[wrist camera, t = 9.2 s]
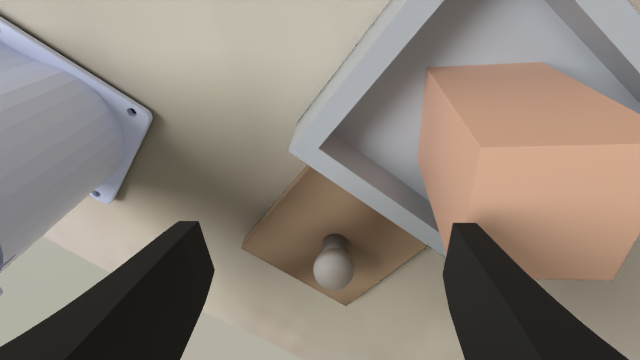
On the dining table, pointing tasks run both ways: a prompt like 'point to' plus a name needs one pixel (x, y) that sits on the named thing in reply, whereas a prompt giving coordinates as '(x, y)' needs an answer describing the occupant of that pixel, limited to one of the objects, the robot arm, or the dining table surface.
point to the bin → (450, 50)
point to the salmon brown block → (532, 166)
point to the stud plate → (320, 218)
